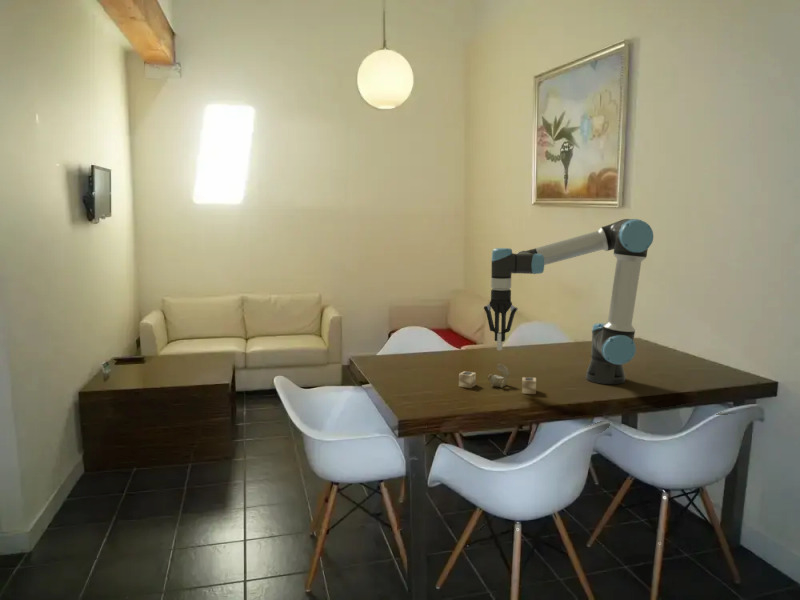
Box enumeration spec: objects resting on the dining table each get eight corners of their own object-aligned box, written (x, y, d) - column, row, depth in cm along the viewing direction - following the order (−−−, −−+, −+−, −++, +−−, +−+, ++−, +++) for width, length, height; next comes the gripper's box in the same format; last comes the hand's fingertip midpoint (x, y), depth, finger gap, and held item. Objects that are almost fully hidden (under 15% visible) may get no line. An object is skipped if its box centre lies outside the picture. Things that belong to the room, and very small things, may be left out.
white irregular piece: (491, 386, 237) (489, 361, 241) (486, 390, 243) (484, 366, 247) (512, 386, 238) (510, 362, 242) (507, 391, 244) (505, 366, 248)
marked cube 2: (535, 390, 237) (535, 377, 236) (535, 394, 232) (536, 380, 232) (522, 389, 238) (522, 376, 237) (522, 393, 233) (522, 380, 232)
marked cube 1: (475, 385, 245) (475, 372, 244) (470, 388, 240) (470, 375, 240) (464, 383, 247) (464, 370, 246) (458, 386, 243) (458, 373, 242)
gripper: (520, 288, 238) (518, 348, 241) (486, 287, 243) (485, 346, 246) (516, 290, 231) (514, 352, 234) (481, 289, 236) (480, 350, 239)
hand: (499, 349), depth 240 cm, fingers closed
